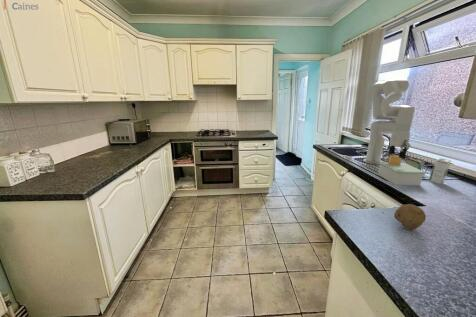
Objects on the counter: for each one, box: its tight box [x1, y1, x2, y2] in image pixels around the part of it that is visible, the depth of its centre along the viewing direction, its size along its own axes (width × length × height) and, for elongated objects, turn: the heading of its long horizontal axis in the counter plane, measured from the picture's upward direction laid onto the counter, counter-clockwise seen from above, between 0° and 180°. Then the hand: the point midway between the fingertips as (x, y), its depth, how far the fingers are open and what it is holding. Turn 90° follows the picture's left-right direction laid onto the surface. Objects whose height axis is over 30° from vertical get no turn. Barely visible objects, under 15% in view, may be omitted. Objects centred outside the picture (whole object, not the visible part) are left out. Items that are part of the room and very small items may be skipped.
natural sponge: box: [394, 203, 427, 230], centre depth 81 cm, size 9×9×10 cm
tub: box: [378, 164, 424, 186], centre depth 126 cm, size 16×14×8 cm
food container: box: [405, 156, 426, 171], centre depth 137 cm, size 12×6×10 cm, turn 179°
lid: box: [378, 154, 426, 175], centre depth 124 cm, size 17×15×7 cm
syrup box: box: [428, 157, 452, 185], centre depth 122 cm, size 6×6×14 cm
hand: (396, 155), depth 128 cm, fingers open, 9 cm apart
